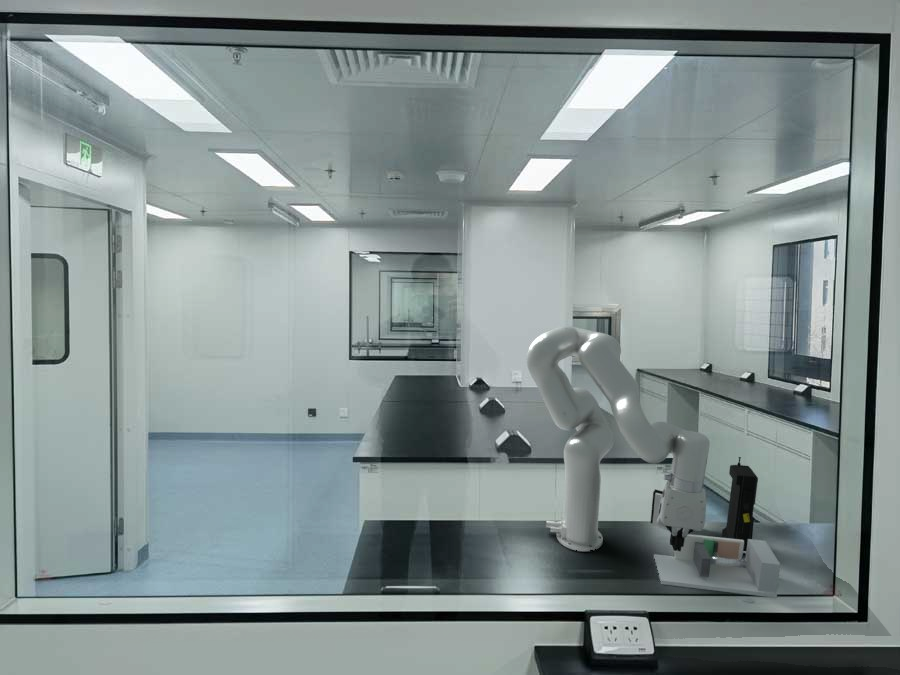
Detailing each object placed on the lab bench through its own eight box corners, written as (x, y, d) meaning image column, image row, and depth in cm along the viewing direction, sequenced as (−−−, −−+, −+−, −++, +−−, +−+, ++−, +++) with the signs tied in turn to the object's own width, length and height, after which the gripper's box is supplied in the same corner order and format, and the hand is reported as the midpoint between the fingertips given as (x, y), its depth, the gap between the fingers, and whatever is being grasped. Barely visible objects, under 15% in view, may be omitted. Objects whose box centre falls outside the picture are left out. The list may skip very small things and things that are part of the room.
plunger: (700, 576, 135) (702, 556, 134) (693, 558, 142) (695, 539, 141) (748, 582, 133) (751, 561, 132) (739, 563, 140) (741, 544, 139)
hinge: (701, 528, 160) (705, 496, 158) (702, 538, 155) (706, 505, 153) (650, 518, 165) (653, 488, 163) (650, 528, 160) (652, 496, 158)
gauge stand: (661, 584, 135) (664, 553, 133) (653, 557, 146) (656, 528, 144) (776, 597, 130) (781, 565, 129) (760, 569, 141) (764, 539, 139)
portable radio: (753, 557, 146) (765, 470, 141) (728, 555, 147) (739, 468, 142) (744, 541, 153) (755, 457, 148) (720, 538, 155) (730, 455, 149)
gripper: (656, 485, 132) (647, 552, 136) (723, 493, 130) (711, 561, 134) (651, 470, 139) (642, 535, 144) (714, 478, 137) (703, 543, 141)
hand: (675, 547), depth 139 cm, fingers closed
